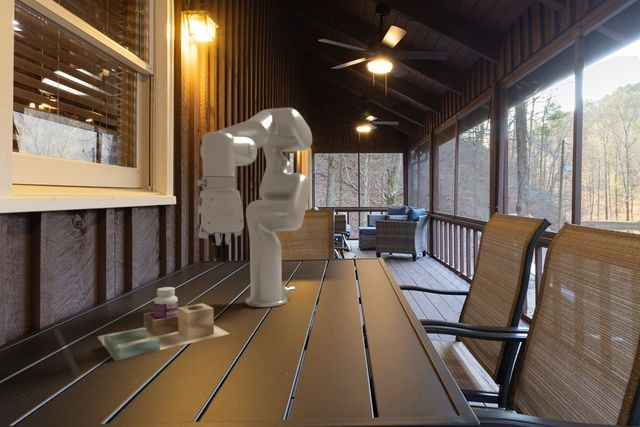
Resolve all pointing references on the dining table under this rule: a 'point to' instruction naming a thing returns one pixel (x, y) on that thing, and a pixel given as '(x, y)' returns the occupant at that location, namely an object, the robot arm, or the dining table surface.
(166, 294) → the pill bottle
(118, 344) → the board
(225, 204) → the robot arm
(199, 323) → the oak block
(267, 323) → the dining table surface
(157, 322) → the walnut ring block
